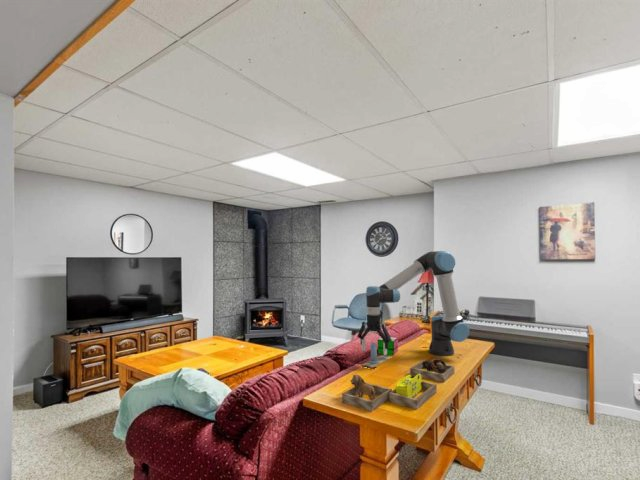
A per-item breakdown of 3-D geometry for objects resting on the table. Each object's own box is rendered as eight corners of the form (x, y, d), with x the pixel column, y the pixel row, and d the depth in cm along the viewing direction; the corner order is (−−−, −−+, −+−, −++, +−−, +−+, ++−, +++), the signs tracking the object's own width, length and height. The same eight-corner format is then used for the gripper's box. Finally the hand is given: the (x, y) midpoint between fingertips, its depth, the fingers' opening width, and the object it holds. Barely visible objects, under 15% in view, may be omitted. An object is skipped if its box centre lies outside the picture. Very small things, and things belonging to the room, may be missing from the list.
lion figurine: (348, 395, 146) (348, 374, 147) (356, 392, 150) (356, 371, 150) (375, 407, 136) (376, 385, 136) (383, 404, 139) (384, 381, 140)
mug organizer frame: (454, 373, 177) (454, 366, 177) (443, 382, 163) (443, 374, 163) (422, 366, 187) (422, 360, 187) (410, 375, 174) (410, 368, 174)
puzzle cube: (398, 354, 213) (397, 337, 213) (393, 358, 204) (393, 341, 204) (382, 352, 217) (382, 336, 218) (377, 356, 208) (377, 339, 209)
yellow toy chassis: (408, 403, 139) (408, 382, 140) (395, 400, 143) (395, 379, 143) (422, 391, 152) (422, 372, 153) (410, 388, 156) (410, 370, 156)
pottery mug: (443, 371, 181) (448, 360, 177) (443, 384, 173) (447, 373, 169) (420, 363, 184) (424, 352, 180) (419, 376, 176) (423, 365, 172)
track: (392, 359, 200) (392, 357, 200) (373, 369, 182) (373, 366, 182) (381, 357, 204) (381, 355, 205) (361, 367, 186) (361, 364, 186)
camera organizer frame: (436, 392, 151) (436, 384, 151) (417, 409, 133) (417, 400, 134) (410, 386, 158) (410, 378, 158) (389, 401, 141) (389, 393, 141)
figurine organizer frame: (391, 397, 145) (391, 389, 145) (372, 411, 132) (372, 402, 132) (363, 389, 154) (363, 382, 154) (342, 402, 140) (342, 393, 140)
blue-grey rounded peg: (379, 362, 190) (378, 342, 191) (375, 364, 187) (375, 343, 187) (372, 361, 193) (372, 341, 193) (368, 362, 189) (368, 342, 190)
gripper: (351, 313, 196) (351, 350, 195) (390, 317, 181) (391, 357, 180) (357, 311, 202) (358, 347, 201) (396, 315, 187) (397, 354, 185)
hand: (374, 352), depth 190 cm, fingers open, 13 cm apart
